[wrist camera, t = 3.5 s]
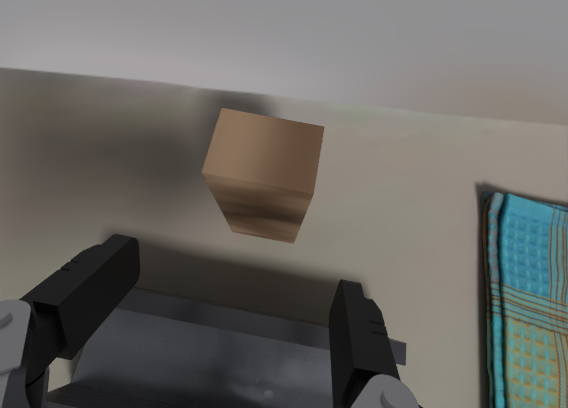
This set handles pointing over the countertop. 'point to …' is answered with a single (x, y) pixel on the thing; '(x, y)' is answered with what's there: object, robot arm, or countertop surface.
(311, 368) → the floor track
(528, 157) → the countertop surface
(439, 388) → the countertop surface
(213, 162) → the tan wooden pillar block
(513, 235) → the dish towel
